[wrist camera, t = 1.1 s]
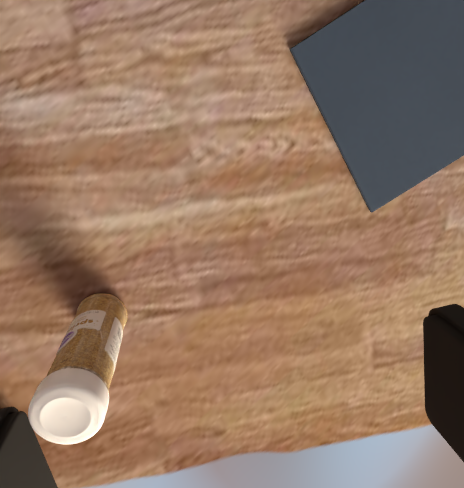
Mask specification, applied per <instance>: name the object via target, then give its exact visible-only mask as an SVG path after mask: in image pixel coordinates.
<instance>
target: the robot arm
mask: <svg viewBox="0 0 464 488" xmlns="http://www.w3.org/2000/svg"><path fill="white" fill-rule="evenodd" d="M423 332H424V380H425V410H426V413H427V416H428V418H429V420H430V422H431V423H432V425H433V426H434V427H435V428H436V429H437V431H438V432H439V433H440V434H441V435H442V436H443V438H444V439H445V440H446V441H447V443H448V444H449V445H450V446H451V447H452V449H453V450H454V451H455V452H456V453H457V455H458V456H459V457H460V458H461V459H462V461H463V462H464V308H463V307H461V306H460V305H457V304H452V305H448V306H443V307H439V308H435V309H432V310H430V312H429V316H428V317H425V318H424V322H423ZM0 488H58V487H57V485H56V483H55V480H54V478H53V476H52V473H51V471H50V469H49V466H48V464H47V462H46V459H45V457H44V454H43V452H42V450H41V447H40V445H39V443H38V440H37V438H36V436H35V433H34V431H33V428H32V426H31V424H30V421H29V419H28V417H27V415H26V413H25V412H23V411H20V412H18V410H17V409H16V408H15V407H8V408H3V409H0Z"/></svg>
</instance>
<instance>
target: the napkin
mask: <svg viewBox="0 0 464 488" xmlns="http://www.w3.org/2000/svg"><path fill="white" fill-rule="evenodd" d="M290 51H291V53H292V55H293V57H294V59H295V61H296V63H297V65H298V67H299V69H300V71H301V74H302V76H303V78H304V80H305V82H306V84H307V86H308V88H309V90H310V92H311V94H312V96H313V98H314V100H315V102H316V104H317V106H318V108H319V110H320V112H321V114H322V116H323V118H324V120H325V122H326V124H327V126H328V128H329V130H330V132H331V134H332V136H333V138H334V140H335V142H336V144H337V146H338V148H339V150H340V152H341V154H342V156H343V158H344V160H345V162H346V164H347V166H348V168H349V170H350V172H351V174H352V176H353V178H354V180H355V182H356V184H357V186H358V188H359V190H360V192H361V194H362V196H363V198H364V200H365V202H366V204H367V206H368V208H369V210H370V212H373V211H375V210H377V209H378V208H380V207H381V206H383V205H385V204H386V203H388V202H389V201H391V200H393V199H394V198H396V197H398V196H399V195H401V194H402V193H404V192H406V191H407V190H409V189H410V188H412V187H414V186H415V185H417V184H418V183H420V182H422V181H423V180H425V179H426V178H428V177H430V176H431V175H433V174H434V173H436V172H438V171H439V170H441V169H442V168H444V167H446V166H447V165H449V164H451V163H452V162H454V161H455V160H457V159H459V158H460V157H462V156H463V155H464V0H364V1H363V2H361V3H360V4H358V5H357V6H355V7H354V8H352V9H351V10H349V11H348V12H346V13H344V14H343V15H341V16H340V17H338V18H337V19H335V20H334V21H332V22H331V23H329V24H328V25H326V26H325V27H323V28H321V29H320V30H318V31H317V32H315V33H314V34H312V35H311V36H309V37H308V38H306V39H305V40H303V41H302V42H300V43H299V44H297V45H295V46H294V47H292V48H291V49H290Z"/></svg>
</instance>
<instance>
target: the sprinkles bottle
mask: <svg viewBox="0 0 464 488" xmlns="http://www.w3.org/2000/svg"><path fill="white" fill-rule="evenodd" d="M126 321H127V310H126V308H125V306H124V304H123V303H122V302H121V301H120V300H119V299H118V298H117V297H116V296H113V295H111V294H103V293H99V294H93V295H91V296H89V297H87V298H86V299H84V300H83V301H82V302H81V303H80V305H79V307H78V309H77V314H76V316H75V318H74V320H73V321H72V323H71V325H70V327H69V329H68V331H67V333H66V335H65V337H64V339H63V341H62V343H61V345H60V348H59V350H58V352H57V355H56V358H55V359H54V362H53V364H52V366H51V368H50V370H49V372H48V374H47V376H46V377H45V378H44V379H43V380H42V381H41V383H40V384H39V386H38V388H37V390H36V392H35V394H34V396H33V398H32V400H31V402H30V405H29V409H28V418H29V421H30V424H31V426H32V428H33V429H34V431H35V432H36V433H37V434H38V435H39V436H41V437H42V438H44V439H45V440H48V441H50V442H53V443H57V444H75V443H79V442H82V441H85V440H87V439H89V438H90V437H92V436H93V435H94V434H95V433H96V432H97V431H98V430H99V429H100V428H101V426H102V424H103V422H104V419H105V415H106V412H107V408H108V403H109V387H110V383H111V379H112V377H113V374H114V370H115V366H116V361H117V357H118V353H119V349H120V345H121V340H122V336H123V328H124V326H125V324H126Z"/></svg>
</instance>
